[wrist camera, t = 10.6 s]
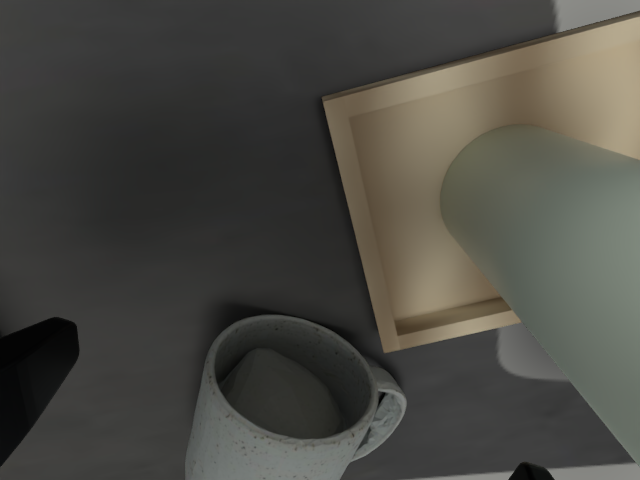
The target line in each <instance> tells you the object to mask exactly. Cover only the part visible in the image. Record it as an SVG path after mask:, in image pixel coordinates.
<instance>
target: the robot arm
mask: <svg viewBox="0 0 640 480" xmlns="http://www.w3.org/2000/svg"><path fill="white" fill-rule="evenodd" d="M78 356H79V341H78V332H77V326H76V324H75V323H74V322H72V321H69V320H66V319H63V318H59V317H53V318H50V319H47V320H45V321H42V322H39V323H37V324H34V325H32V326H29V327H27V328H24V329H22V330H19V331H17V332H14V333H12V334H9V335H6V336H4V337H1V338H0V467H1V466H2V465H3V463H4V462H5V461H6V460H7V458H8V457H9V456H10V455H11V454H12V452H13V451H14V450H15V449H16V447H17V446H18V445H19V444H20V443H21V441H22V440H23V439H24V437H25V436H26V435H27V434H28V432H29V431H30V430H31V428H32V427H33V426H34V424H35V423H36V421H37V420H38V418H39V417H40V415H41V414H42V412H43V411H44V409H45V408H46V406H47V405H48V403H49V402H50V400H51V399H52V397H53V396H54V395H55V393H56V392H57V390H58V389H59V387H60V386H61V384H62V383H63V381H64V380H65V378H66V377H67V375H68V374H69V372H70V371H71V369H72V368H73V366H74V365H75V363H76V361H77V359H78ZM509 480H554V478H553V477H552V475H551V474H550V473H549V471H548V470H547V469H545V468H544V467H541V466H538V465H535V464H532V463H529V462H522V463H520V464H519V466H518V467H517V468H516V470H515V471H514V473H513V474H512V475H511V477H510V478H509Z"/></svg>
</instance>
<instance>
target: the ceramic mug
mask: <svg viewBox="0 0 640 480" xmlns="http://www.w3.org/2000/svg"><path fill="white" fill-rule="evenodd" d="M378 391H381V392H386V393H385V396H384V398H383V400H382V401H381V403H380V405H379V406H378V401H379V400H378ZM406 405H407V401H406V397H405V395H404V393H403V391H402V390H401V388H400V387H399V386H398V384H397V383H396V381H395V380H394V378H393V377H392V376H391V375H390V374H389V373H388V372H387V371H386V370H384V369H382V368H379V367H375V366H369V365H368V363H367V362H366V360H365V359H364V358H363V357H362V356H361V354H360V353H359V352H358V350H357V349H355V348H354V347H353V346H352V345H351V344H350V343H349V342H348V341H346V340H345V339H343V338H342V337H340V336H339V335H338V334H336V333H335V332H333V331H331V330H329V329H327V328H325V327H323V326H321V325H319V324H316V323H313V322H310V321H307V320H304V319H301V318H296V317H292V316H284V315H259V316H254V317H248V318H245V319H242V320H240V321H237V322H235V323H233V324H232V325H230V326H229V327H228V328H226V329H225V330H224V331H222V332H221V334H220V335H219V336H218V337H217V338H216V339H215V340H214V341H213V343H212V345H211V347H210V349H209V351H208V354H207V357H206V360H205V365H204V371H203V375H202V381H201V387H200V391H199V395H198V399H197V404H196V409H195V414H194V419H193V425H192V431H191V435H190V439H189V443H188V447H187V453H186V460H185V478H186V480H340V478H341V476H342V474H343V472H344V471H345V469H346V467H347V465H348V464H349V462H352V461H354V460H357V459H359V458H361V457H363V456H366V455H367V454H368V453H370V452H371V451H373V450H374V449H376V448H377V447H378V446H379V445H380V444H382V443H383V442H384V441H385V440H386V439H387V438H388V437H389V436H390V435H391V434H392V433H393V431H394V430H395V428H396V427H397V426H398V424H399V423H400V421H401V419H402V417H403V415H404V413H405V410H406ZM377 406H378V407H377Z"/></svg>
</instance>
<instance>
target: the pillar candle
mask: <svg viewBox="0 0 640 480" xmlns="http://www.w3.org/2000/svg"><path fill="white" fill-rule="evenodd" d="M440 207H441V214H442V218H443V221H444V223H445V226H446V228H447V229H448V231H449V233H450V234H451V235H452V236H453V238H454V239H455V240H456V241H457V243H458V244H459V245H460V246H461V248H462V249H463V250H464V251H465V252H466V254H467V255H468V256H469V257H470V259H471V260H472V261H473V262H474V264H475V265H476V266H477V267H478V268H479V270H480V271H481V272H482V273H483V275H484V276H485V277H486V278H487V280H488V281H489V282H490V283H491V284H492V286H493V287H494V288H495V289H496V291H497V292H498V293H499V294H500V296H501V297H502V298H503V299H504V300H505V302H506V303H507V304H508V305H509V307H510V308H511V309H512V310H513V312H514V313H515V314H516V315H517V317H518V318H519V319H520V320H521V321H522V323H523V324H524V325H525V326H526V328H527V329H528V330H529V331H530V333H531V334H532V335H533V336H534V337H535V339H536V340H537V341H538V342H539V344H540V345H541V346H542V347H543V349H544V350H545V351H546V352H547V353H548V355H549V356H550V357H551V358H552V360H553V361H554V362H555V363H556V365H557V366H558V367H559V368H560V369H561V371H562V372H563V373H564V374H565V376H566V377H567V378H568V379H569V381H570V382H571V383H572V384H573V385H574V387H575V388H576V389H577V390H578V392H579V393H580V394H581V395H582V397H583V398H584V399H585V400H586V401H587V403H588V404H589V405H590V406H591V408H592V409H593V410H594V411H595V413H596V414H597V415H598V416H599V417H600V419H601V420H602V421H603V422H604V424H605V425H606V426H607V427H608V429H609V430H610V431H611V432H612V433H613V435H614V436H615V437H616V438H617V440H618V441H619V442H620V443H621V445H622V446H623V447H624V448H625V450H626V451H627V452H628V453H629V454H630V456H631V457H632V458H633V459H634V461H635V462H636V463H637V464H638V466H639V467H640V160H638V159H635V158H632V157H629V156H626V155H623V154H620V153H617V152H614V151H611V150H608V149H605V148H602V147H599V146H596V145H593V144H590V143H587V142H584V141H580V140H577V139H574V138H571V137H568V136H565V135H562V134H559V133H556V132H553V131H550V130H547V129H544V128H541V127H538V126H533V125H527V124H514V125H507V126H502V127H499V128H496V129H493V130H491V131H488V132H486V133H484V134H482V135H481V136H479V137H478V138H476V139H474V140H473V141H472V142H471V143H469V144H468V145H467V146H466V147H465V148H464V149H463V150H462V151H461V152H460V153H459V154H458V156H457V157H456V158H455V159H454V161H453V162H452V164H451V166H450V167H449V169H448V171H447V173H446V176H445V178H444V181H443V185H442V189H441V195H440Z"/></svg>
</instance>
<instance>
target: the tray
mask: <svg viewBox="0 0 640 480" xmlns="http://www.w3.org/2000/svg"><path fill="white" fill-rule="evenodd" d="M322 101H323V105H324V110H325V114H326V118H327V122H328V126H329V130H330V134H331V138H332V142H333V146H334V151H335V155H336V159H337V163H338V167H339V171H340V175H341V179H342V183H343V188H344V192H345V196H346V200H347V204H348V208H349V212H350V216H351V220H352V225H353V229H354V233H355V237H356V241H357V245H358V249H359V253H360V257H361V261H362V266H363V270H364V274H365V278H366V282H367V286H368V290H369V294H370V298H371V303H372V307H373V311H374V315H375V319H376V323H377V327H378V331H379V335H380V339H381V343H382V347H383V351H384V353H388V352H392V351H396V350H401V349H405V348H410V347H414V346H419V345H423V344H428V343H432V342H437V341H441V340H445V339H450V338H454V337H459V336H463V335H468V334H472V333H477V332H481V331H486V330H490V329H494V328H499V327H503V326H507V325H512V324H517V323H521V322H522V321H521V320H520V319H519V318H518V317H517V315H516V314H515V313H514V312H513V310H512V309H511V308H510V307H509V305H508V304H507V303H506V302H505V300H504V299H503V298H502V297H501V296H500V294H499V293H498V292H497V291H496V289H495V288H494V287H493V286H492V284H491V283H490V282H489V281H488V280H487V278H486V277H485V276H484V275H483V273H482V272H481V271H480V270H479V268H478V267H477V266H476V265H475V264H474V262H473V261H472V260H471V259H470V257H469V256H468V255H467V254H466V252H465V251H464V250H463V249H462V248H461V246H460V245H459V244H458V243H457V241H456V240H455V239H454V238H453V236H452V235H451V234H450V233H449V231H448V229H447V228H446V226H445V223H444V221H443V218H442V214H441V207H440V195H441V189H442V185H443V181H444V178H445V176H446V173H447V171H448V169H449V167H450V166H451V164H452V162H453V161H454V159H455V158H456V157H457V156H458V154H459V153H460V152H461V151H462V150H463V149H464V148H465V147H466V146H467V145H468V144H469V143H471V142H472V141H473V140H474V139H476V138H478V137H479V136H481V135H482V134H484V133H486V132H488V131H491V130H493V129H496V128H499V127H502V126H507V125H514V124H527V125H533V126H538V127H541V128H544V129H547V130H550V131H553V132H556V133H559V134H562V135H565V136H568V137H571V138H574V139H577V140H580V141H584V142H587V143H590V144H593V145H596V146H599V147H602V148H605V149H608V150H611V151H614V152H617V153H620V154H623V155H626V156H629V157H632V158H635V159H638V160H640V11H637V12H634V13H630V14H626V15H622V16H619V17H615V18H611V19H608V20H604V21H600V22H596V23H593V24H589V25H585V26H582V27H578V28H575V29H571V30H567V31H563V32H559V33H556V34H552V35H548V36H545V37H541V38H537V39H534V40H530V41H526V42H522V43H519V44H515V45H511V46H508V47H504V48H500V49H497V50H493V51H489V52H485V53H482V54H478V55H474V56H471V57H467V58H463V59H460V60H456V61H452V62H448V63H445V64H441V65H437V66H434V67H430V68H426V69H423V70H419V71H415V72H411V73H408V74H404V75H400V76H397V77H393V78H389V79H386V80H382V81H378V82H374V83H371V84H367V85H363V86H360V87H356V88H352V89H349V90H345V91H341V92H337V93H334V94H330V95H326V96H323V97H322Z"/></svg>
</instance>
